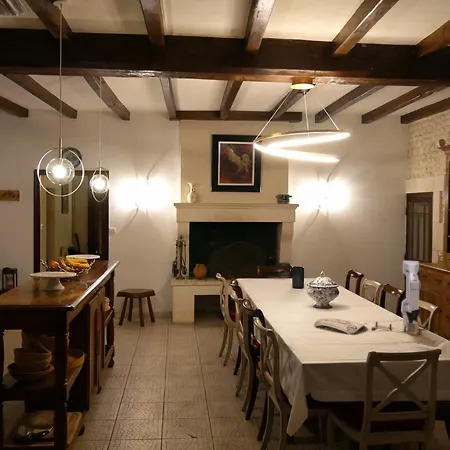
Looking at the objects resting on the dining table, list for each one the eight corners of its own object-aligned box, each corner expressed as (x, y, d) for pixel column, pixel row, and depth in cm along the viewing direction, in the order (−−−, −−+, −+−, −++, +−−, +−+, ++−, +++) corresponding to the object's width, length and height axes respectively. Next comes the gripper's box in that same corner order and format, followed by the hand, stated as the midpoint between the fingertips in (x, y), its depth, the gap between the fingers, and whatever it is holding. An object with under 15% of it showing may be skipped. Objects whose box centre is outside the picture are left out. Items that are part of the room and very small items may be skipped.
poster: (371, 332, 335) (329, 322, 354) (372, 322, 335) (330, 313, 354) (352, 337, 313) (309, 327, 332) (353, 327, 313) (310, 317, 332)
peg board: (377, 326, 336) (377, 320, 336) (424, 335, 318) (424, 328, 317) (371, 329, 328) (371, 322, 328) (419, 338, 310) (419, 331, 309)
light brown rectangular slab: (408, 331, 320) (408, 320, 320) (418, 333, 317) (418, 322, 316) (406, 332, 317) (406, 321, 317) (416, 334, 314) (416, 323, 313)
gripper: (411, 297, 324) (410, 318, 325) (403, 301, 313) (402, 322, 313) (422, 299, 320) (421, 320, 320) (415, 302, 308) (413, 324, 309)
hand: (412, 321), depth 317 cm, fingers open, 7 cm apart
